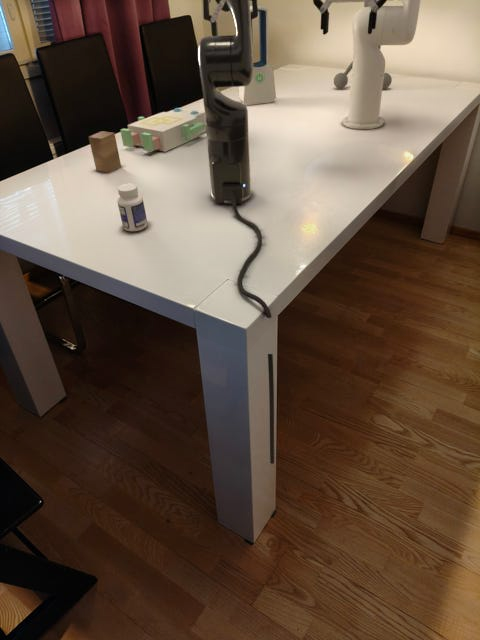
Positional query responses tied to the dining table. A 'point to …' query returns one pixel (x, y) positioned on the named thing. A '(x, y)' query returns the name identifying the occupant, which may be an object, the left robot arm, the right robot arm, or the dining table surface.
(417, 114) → the dining table surface
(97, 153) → the block
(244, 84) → the left robot arm
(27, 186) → the dining table surface
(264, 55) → the electronic device
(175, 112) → the decorative block
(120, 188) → the pill bottle
